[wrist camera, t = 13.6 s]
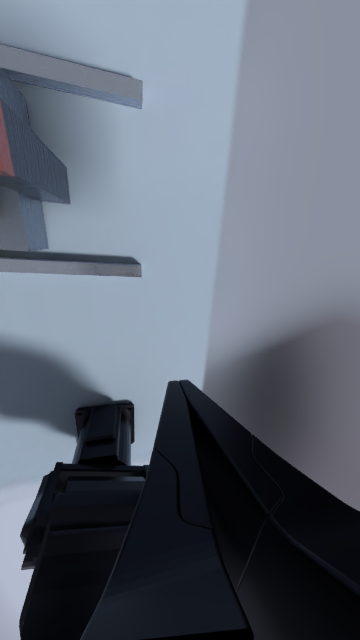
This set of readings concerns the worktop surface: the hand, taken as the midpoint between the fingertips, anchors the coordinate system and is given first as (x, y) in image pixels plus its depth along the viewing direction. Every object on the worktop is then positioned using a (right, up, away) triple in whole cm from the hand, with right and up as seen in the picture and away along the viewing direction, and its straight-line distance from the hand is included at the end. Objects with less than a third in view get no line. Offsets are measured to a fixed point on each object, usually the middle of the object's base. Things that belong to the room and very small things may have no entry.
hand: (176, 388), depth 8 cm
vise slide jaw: (-10, +13, +6) cm, 18 cm away
